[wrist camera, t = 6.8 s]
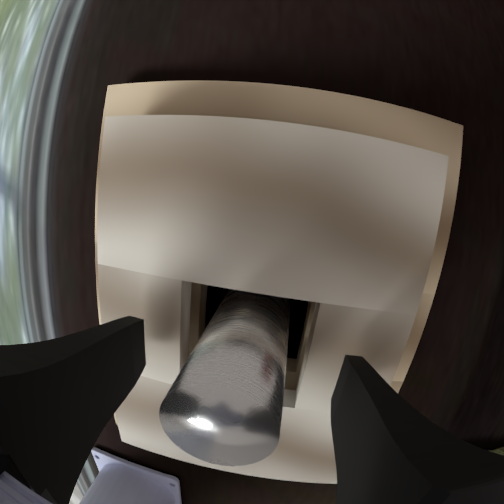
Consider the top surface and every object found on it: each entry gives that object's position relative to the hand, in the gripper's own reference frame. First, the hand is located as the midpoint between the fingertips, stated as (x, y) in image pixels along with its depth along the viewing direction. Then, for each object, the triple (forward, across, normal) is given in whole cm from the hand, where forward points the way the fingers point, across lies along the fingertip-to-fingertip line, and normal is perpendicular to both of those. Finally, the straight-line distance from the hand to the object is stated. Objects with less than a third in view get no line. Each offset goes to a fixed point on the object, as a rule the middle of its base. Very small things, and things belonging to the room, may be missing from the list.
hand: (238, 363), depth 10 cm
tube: (+5, 0, 0) cm, 5 cm away
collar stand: (+5, 0, 0) cm, 5 cm away
